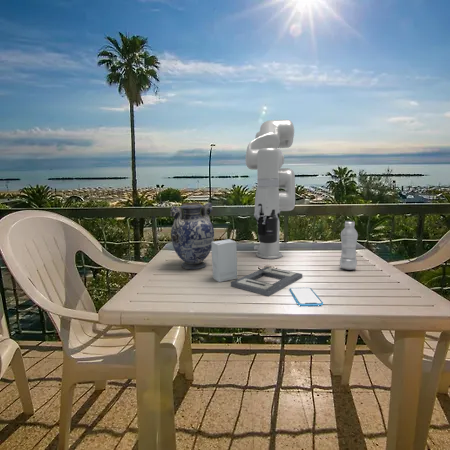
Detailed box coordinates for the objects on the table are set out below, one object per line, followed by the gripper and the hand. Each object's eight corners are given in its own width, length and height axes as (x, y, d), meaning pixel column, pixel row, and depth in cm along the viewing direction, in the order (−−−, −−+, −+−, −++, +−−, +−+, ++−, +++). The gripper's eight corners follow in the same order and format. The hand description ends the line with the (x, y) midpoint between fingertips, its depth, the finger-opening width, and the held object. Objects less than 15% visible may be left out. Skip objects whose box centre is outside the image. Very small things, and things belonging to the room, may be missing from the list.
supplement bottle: (265, 244, 112) (265, 210, 110) (254, 240, 118) (254, 208, 116) (281, 242, 115) (281, 209, 113) (270, 238, 121) (270, 207, 119)
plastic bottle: (358, 272, 128) (360, 222, 125) (340, 271, 130) (342, 222, 127) (355, 267, 135) (357, 220, 132) (338, 266, 136) (340, 220, 133)
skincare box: (230, 275, 127) (230, 238, 125) (238, 279, 122) (237, 241, 120) (211, 278, 124) (210, 240, 122) (218, 282, 119) (217, 243, 116)
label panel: (230, 286, 115) (230, 281, 115) (267, 270, 133) (267, 266, 133) (268, 296, 105) (268, 291, 104) (302, 277, 123) (302, 273, 122)
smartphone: (310, 287, 111) (323, 303, 96) (310, 290, 111) (323, 307, 96) (288, 288, 111) (299, 304, 96) (288, 291, 111) (298, 308, 96)
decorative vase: (184, 276, 127) (181, 206, 123) (162, 266, 141) (158, 203, 137) (225, 265, 140) (224, 202, 136) (201, 258, 155) (199, 200, 150)
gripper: (271, 182, 122) (271, 228, 125) (244, 185, 109) (245, 236, 112) (289, 182, 117) (288, 230, 120) (263, 185, 104) (263, 238, 107)
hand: (267, 232), depth 116 cm, fingers closed on supplement bottle, 6 cm apart
